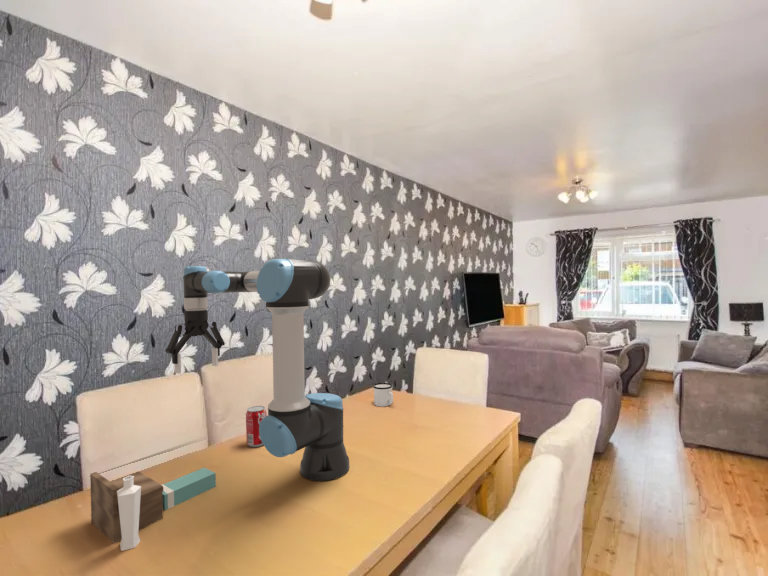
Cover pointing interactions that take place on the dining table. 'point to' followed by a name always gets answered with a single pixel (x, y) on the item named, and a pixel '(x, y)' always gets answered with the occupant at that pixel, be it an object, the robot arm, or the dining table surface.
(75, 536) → the dining table surface
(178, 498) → the teal rectangular block
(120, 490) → the perfume bottle
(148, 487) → the brown wooden block
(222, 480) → the dining table surface
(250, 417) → the soda can
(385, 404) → the mug
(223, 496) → the dining table surface
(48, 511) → the dining table surface
